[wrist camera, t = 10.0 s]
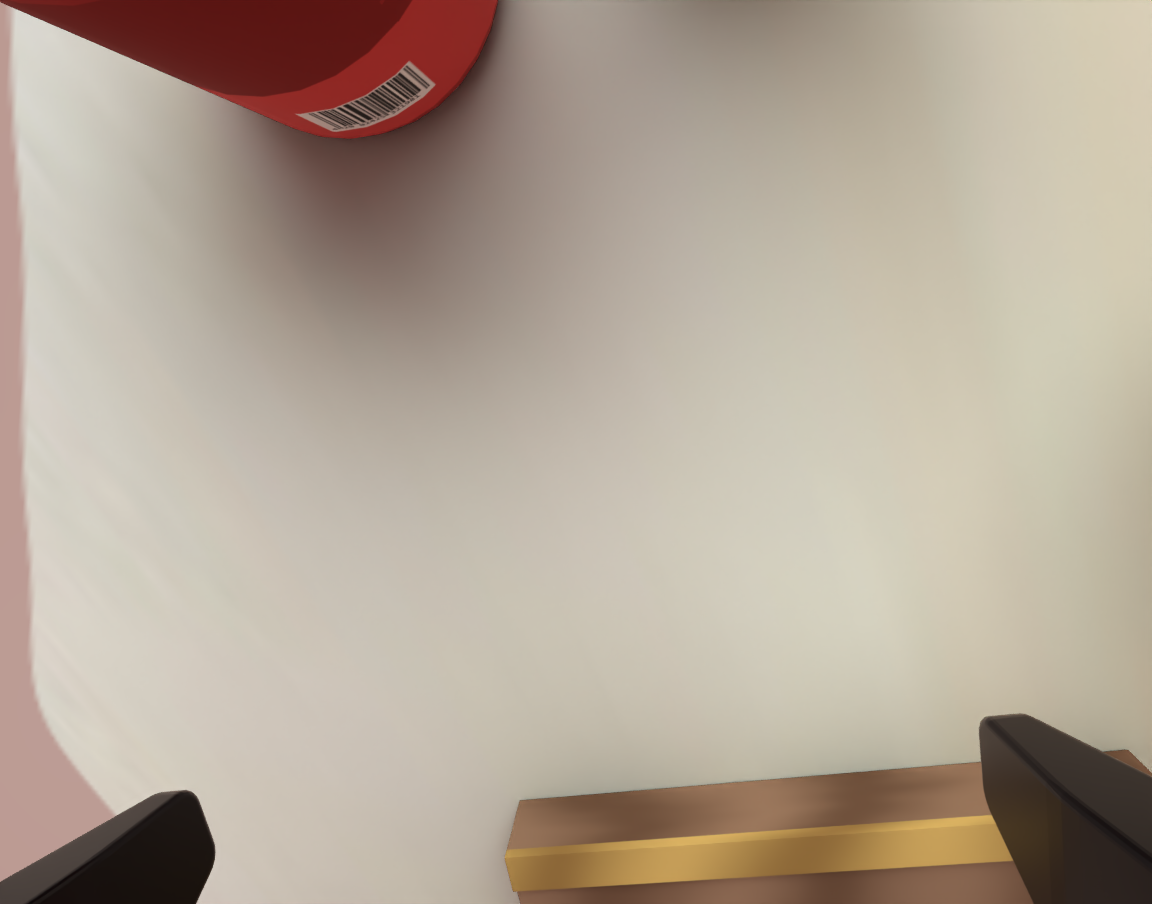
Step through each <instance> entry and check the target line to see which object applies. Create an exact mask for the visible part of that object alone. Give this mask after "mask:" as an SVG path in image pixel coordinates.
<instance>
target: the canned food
mask: <svg viewBox="0 0 1152 904" xmlns="http://www.w3.org/2000/svg"><path fill="white" fill-rule="evenodd" d="M0 2H1V3H4V4H6V5H8V6H10V7H13V8H15V9H17V10H20V11H22V12H24V13H27V14H29V15H31V16H33V17H36V18H38V19H40V20H43V21H45V22H47V23H50V24H52V25H54V26H57V27H59V28H61V29H64V30H66V31H68V32H71V33H73V34H75V35H78V36H80V37H82V38H85V39H87V40H89V41H92V42H94V43H96V44H99V45H101V46H103V47H106V48H108V49H110V50H113V51H115V52H117V53H119V54H122V55H124V56H126V57H129V58H131V59H133V60H136V61H138V62H140V63H143V64H145V65H147V66H150V67H152V68H154V69H157V70H159V71H161V72H164V73H166V74H168V75H171V76H173V77H175V78H178V79H180V80H182V81H185V82H187V83H189V84H192V85H194V86H196V87H199V88H201V89H203V90H206V91H208V92H210V93H212V94H215V95H217V96H219V97H222V98H224V99H226V100H229V101H231V102H233V103H236V104H238V105H240V106H243V107H245V108H247V109H250V110H252V111H254V112H257V113H259V114H261V115H264V116H266V117H268V118H271V119H273V120H275V121H278V122H280V123H282V124H285V125H287V126H289V127H292V128H294V129H297V130H301V131H304V132H307V133H311V134H314V135H318V136H321V137H333V138H348V139H352V138H358V137H365V136H371V135H377V134H382V133H386V132H389V131H392V130H395V129H397V128H400V127H402V126H405V125H407V124H410V123H412V122H415V121H417V120H418V119H420V118H421V117H423V116H424V115H426V114H427V113H429V112H430V111H432V110H433V109H435V108H436V107H438V106H439V105H440V104H441V103H442V102H443V101H444V100H445V99H446V98H447V97H448V96H449V95H450V94H451V93H452V92H453V91H454V90H455V89H456V88H457V87H458V86H459V85H460V84H461V83H462V81H463V80H464V78H465V77H466V75H467V74H468V72H469V71H470V70H471V68H472V67H473V65H474V64H475V62H476V61H477V59H478V57H479V55H480V53H481V50H482V48H483V46H484V44H485V41H486V39H487V37H488V35H489V33H490V30H491V27H492V23H493V19H494V15H495V11H496V7H497V3H498V0H0Z"/></svg>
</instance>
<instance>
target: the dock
mask: <svg viewBox="0 0 1152 904" xmlns="http://www.w3.org/2000/svg"><path fill="white" fill-rule="evenodd" d="M1104 753H1106V754H1108V755H1110V756H1112V757H1114V758H1116V759H1118V760H1120V761H1122V762H1124V763H1126V764H1128V765H1130V766H1132V767H1134V768H1136V769H1138V770H1140V771H1142V772H1144V773H1146V774H1148V775H1150V776H1152V773H1151V772H1150V771H1149V770H1148V769H1147V768H1146V767H1145V766H1144V765H1143V764H1142V763H1141V762H1140V761H1139V760H1138V759H1137V758H1136V757H1135V756H1134V755H1133V754H1132V753H1131V752H1130V751H1129V750H1121V751H1109V752H1104ZM505 862H506V866H507V869H508V873H509V877H510V881H511V885H512V889H513V892H516V891H517V892H518V896H519V900H520V904H1034V903H1033V901H1032V899H1031V897H1030V895H1029V893H1028V891H1027V889H1026V887H1025V884H1024V882H1023V880H1022V878H1021V876H1020V874H1019V872H1018V870H1017V868H1016V865H1015V863H1014V861H1013V859H1012V857H1011V855H1010V853H1009V851H1008V849H1007V846H1006V844H1005V842H1004V840H1003V838H1002V836H1001V834H1000V832H999V830H998V827H997V825H996V823H995V821H994V819H993V817H992V815H991V812H990V810H989V807H988V805H987V802H986V798H985V794H984V789H983V781H982V767H981V762H977V763H965V764H953V765H941V766H929V767H917V768H905V769H893V770H881V771H869V772H857V773H845V774H833V775H821V776H809V777H797V778H785V779H773V780H761V781H749V782H737V783H725V784H713V785H701V786H689V787H677V788H665V789H653V790H641V791H629V792H617V793H605V794H593V795H581V796H569V797H557V798H545V799H533V800H521V801H520V802H519V806H518V809H517V813H516V817H515V821H514V824H513V828H512V832H511V836H510V840H509V843H508V847H507V851H506V855H505Z"/></svg>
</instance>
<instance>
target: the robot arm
mask: <svg viewBox="0 0 1152 904" xmlns="http://www.w3.org/2000/svg"><path fill="white" fill-rule="evenodd" d="M979 740H980V753H981V767H982V781H983V789H984V794H985V798H986V802H987V805H988V807H989V810H990V812H991V815H992V817H993V819H994V821H995V823H996V825H997V827H998V830H999V832H1000V834H1001V836H1002V838H1003V840H1004V842H1005V844H1006V846H1007V849H1008V851H1009V853H1010V855H1011V857H1012V859H1013V861H1014V863H1015V865H1016V868H1017V870H1018V872H1019V874H1020V876H1021V878H1022V880H1023V882H1024V884H1025V887H1026V889H1027V891H1028V893H1029V895H1030V897H1031V899H1032V901H1033V903H1034V904H1152V776H1150V775H1148V774H1146V773H1144V772H1142V771H1140V770H1138V769H1136V768H1134V767H1132V766H1130V765H1128V764H1126V763H1124V762H1122V761H1120V760H1118V759H1116V758H1114V757H1112V756H1110V755H1108V754H1106V753H1104V752H1102V751H1100V750H1098V749H1096V748H1094V747H1092V746H1090V745H1088V744H1086V743H1084V742H1082V741H1080V740H1078V739H1076V738H1074V737H1072V736H1070V735H1068V734H1066V733H1064V732H1062V731H1060V730H1058V729H1056V728H1054V727H1052V726H1050V725H1048V724H1046V723H1044V722H1042V721H1040V720H1038V719H1036V718H1034V717H1031V716H1029V715H1026V714H1008V715H998V716H987V717H985V718H984V719H983V720H982V721H981V722H980V726H979ZM214 860H215V844H214V841H213V838H212V835H211V832H210V830H209V827H208V824H207V821H206V818H205V816H204V813H203V810H202V807H201V805H200V802H199V800H198V798H197V796H196V795H195V794H194V793H193V792H191V791H187V790H181V791H170V792H161V793H157V794H155V795H152V796H150V797H149V798H147V799H145V800H143V801H142V802H140V803H138V804H136V805H135V806H133V807H131V808H129V809H128V810H126V811H124V812H122V813H121V814H119V815H117V816H115V817H114V818H112V819H110V820H108V821H107V822H105V823H103V824H101V825H99V826H98V827H96V828H94V829H93V830H91V831H89V832H87V833H85V834H84V835H82V836H80V837H78V838H77V839H75V840H73V841H71V842H70V843H68V844H66V845H64V846H63V847H61V848H59V849H57V850H56V851H54V852H52V853H50V854H48V855H47V856H45V857H43V858H42V859H40V860H38V861H36V862H35V863H33V864H31V865H29V866H27V867H26V868H24V869H22V870H20V871H19V872H17V873H15V874H13V875H12V876H10V877H8V878H6V879H5V880H3V881H1V882H0V904H196V903H197V901H198V898H199V896H200V894H201V892H202V890H203V888H204V886H205V883H206V881H207V879H208V877H209V875H210V873H211V870H212V868H213V864H214Z"/></svg>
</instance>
